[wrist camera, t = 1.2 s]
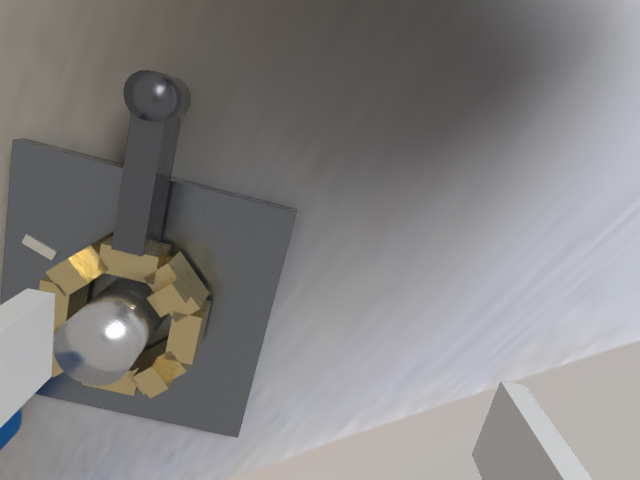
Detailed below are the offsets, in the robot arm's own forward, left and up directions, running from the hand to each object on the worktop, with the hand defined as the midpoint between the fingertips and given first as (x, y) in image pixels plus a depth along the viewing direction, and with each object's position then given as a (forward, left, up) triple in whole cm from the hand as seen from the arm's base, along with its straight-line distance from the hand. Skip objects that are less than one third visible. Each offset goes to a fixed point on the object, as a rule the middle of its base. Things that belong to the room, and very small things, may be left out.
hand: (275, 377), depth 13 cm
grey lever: (+4, -10, -19) cm, 22 cm away
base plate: (+10, -10, -21) cm, 25 cm away
